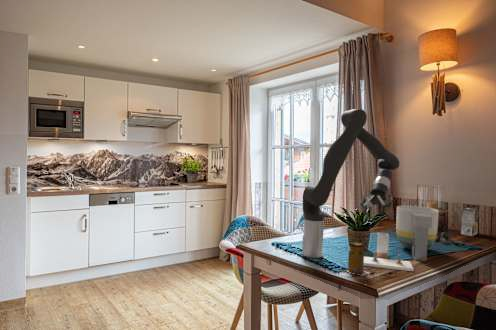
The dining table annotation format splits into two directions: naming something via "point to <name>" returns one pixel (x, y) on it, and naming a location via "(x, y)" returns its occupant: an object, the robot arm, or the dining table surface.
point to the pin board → (388, 263)
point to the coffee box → (469, 221)
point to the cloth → (446, 240)
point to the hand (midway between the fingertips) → (372, 213)
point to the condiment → (356, 258)
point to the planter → (406, 227)
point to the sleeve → (382, 245)
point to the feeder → (420, 235)
